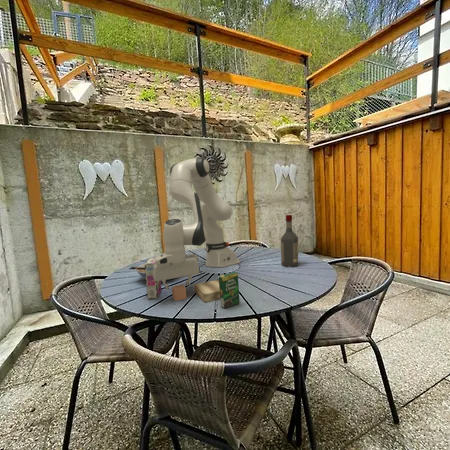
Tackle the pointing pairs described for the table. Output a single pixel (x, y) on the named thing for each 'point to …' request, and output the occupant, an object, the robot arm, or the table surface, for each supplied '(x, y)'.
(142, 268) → the ramen bowl
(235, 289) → the coffee box
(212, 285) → the maple block
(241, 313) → the table surface
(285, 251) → the liquor
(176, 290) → the terracotta cube
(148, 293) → the candy bar box
